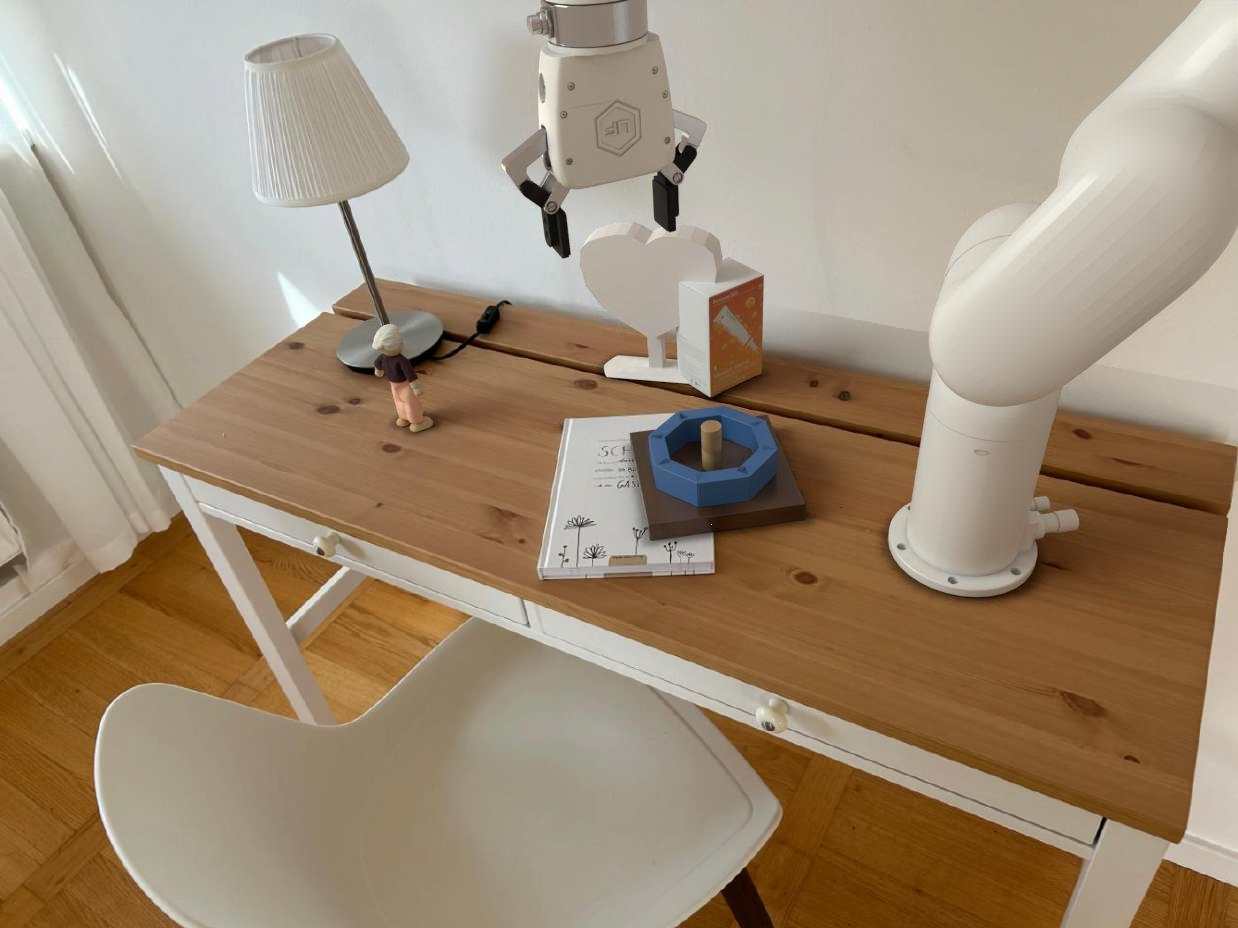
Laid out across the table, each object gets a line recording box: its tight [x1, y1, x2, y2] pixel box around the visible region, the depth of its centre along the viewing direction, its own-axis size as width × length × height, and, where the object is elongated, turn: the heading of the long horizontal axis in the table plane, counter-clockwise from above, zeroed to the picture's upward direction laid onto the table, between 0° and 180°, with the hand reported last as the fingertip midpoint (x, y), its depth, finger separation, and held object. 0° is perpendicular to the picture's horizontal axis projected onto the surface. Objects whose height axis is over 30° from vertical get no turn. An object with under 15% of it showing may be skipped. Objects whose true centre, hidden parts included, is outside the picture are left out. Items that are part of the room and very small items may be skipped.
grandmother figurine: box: [371, 323, 434, 433], centre depth 101 cm, size 8×4×13 cm, turn 62°
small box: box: [675, 257, 765, 398], centre depth 103 cm, size 8×6×13 cm
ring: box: [648, 405, 777, 507], centre depth 90 cm, size 12×12×3 cm
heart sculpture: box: [579, 221, 723, 385], centre depth 103 cm, size 16×5×18 cm, turn 74°
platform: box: [629, 414, 807, 542], centre depth 90 cm, size 15×15×7 cm
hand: (613, 239), depth 77 cm, fingers open, 9 cm apart
